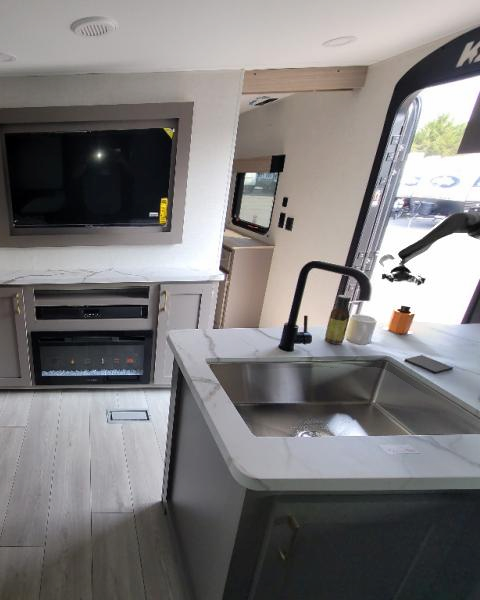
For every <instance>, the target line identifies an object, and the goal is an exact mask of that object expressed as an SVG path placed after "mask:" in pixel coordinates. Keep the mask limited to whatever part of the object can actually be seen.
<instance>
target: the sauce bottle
mask: <svg viewBox="0 0 480 600" xmlns="http://www.w3.org/2000/svg"><path fill="white" fill-rule="evenodd" d="M350 301H351V296H349V295H347V294H339V295H337V301H336V304H335V307H333V308H332V309H331V311H330V315H329V317H328V321H327V326H326V329H325V330H326V331H325V333H324V334H325V335H324V341H326V342H327V343H329V344H334V345H341V344H343V343H344V340H345V338H346V337H345V333H346V330H347V327H348V323H349V320H350V316H351V314H350V309H349V304H350Z"/></svg>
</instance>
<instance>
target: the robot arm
mask: <svg viewBox="0 0 480 600" xmlns="http://www.w3.org/2000/svg"><path fill="white" fill-rule="evenodd" d="M452 235H457V236H458V235H459V236H465V237H467V238H471V239H473V240H475V241H476V242H479V243H480V214H479V213H474V212H466V211H458V212H455V213H452V214H450V215H449V216H446V217H445V218H444V219H443V220H441V221H440V222H438V223H437V224H436V225H435V226H434V227H432V228H431V229H430V230H428V231H427V232H425V233H424V234H423V235H421V236H420V237H418V238H417V239H415V240H414V241H412V242H410V243H408V244H406V245H404V246H403V247H401V248H400V249H398V250H397V256H396V255H395V254H393V253H391V252H384V253H383V254H381V255H379V257H378V258H377V265H379V266H380V267H381V268H383V270H381V273H380V279H381V280H385V279H386V281H388V282H390V283H394V282H399V283H400V282H401V283H402V282H408V283H414V284H415V286H421V285H422V284H425V281H426V280H427V277H425V276H424V275H423V274H421V273H420V274H419V273H418V274H417V275H416V274H414V273H412V271H411V269H410V268H409V267H408V266H407V264H409V263H410V262H412V261H413V260H414V259H416V258H418V257H420V256H422V255H424V254H425V253H427V252H428V251H429V250H431V249H432V248H433V246H434V245H435V244H436V243H437V242H439V241H440V240H442V239H445V238H447V237H450V236H452Z"/></svg>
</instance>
